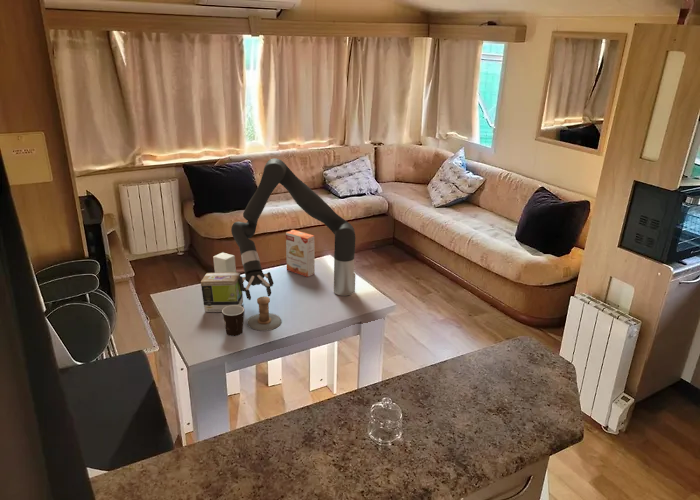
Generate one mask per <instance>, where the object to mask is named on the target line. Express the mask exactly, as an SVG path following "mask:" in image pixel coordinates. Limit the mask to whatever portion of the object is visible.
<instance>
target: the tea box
mask: <svg viewBox="0 0 700 500" xmlns="http://www.w3.org/2000/svg"><path fill="white" fill-rule="evenodd" d="M240 276H241V272H238V271H236V272H230V273H215V272H207V273H206V274H205V275H204V276H203V278H202V279H201V281H200V287H201V295H202V302H203V307H204V312H205V313H215V312H216V313H222V310H223V308H225V307H227V306H231V305H239V306H242V307H243V304H244V296H243V291H241V290H240V285H239V277H240Z"/></svg>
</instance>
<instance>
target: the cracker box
mask: <svg viewBox="0 0 700 500" xmlns="http://www.w3.org/2000/svg"><path fill="white" fill-rule="evenodd" d="M315 236H316V235H313V234H311V233H307V232H304V231H301V230H300V231H299V230H296V229H291V230H289V231H286V232H285V245H286V246H285V251H286V253H285V254H286V271H289V272H292V273H295V274H298V275H300V276H303V277H306V278H309V277H311V276H312V275H314V274H315V273H316V272H315V263H316V262H315V258H316V257H315V256H316V255H315V251H316V250H315V239H316V238H315Z"/></svg>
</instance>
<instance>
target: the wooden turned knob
mask: <svg viewBox="0 0 700 500" xmlns="http://www.w3.org/2000/svg"><path fill="white" fill-rule="evenodd" d="M256 302H257V304H258V314H259V318H258V323H259V324H269V323H270V322H271V318H270V317H269V313H270V306H269V305H270V302H271V298H270V296H260V297H257V299H256Z"/></svg>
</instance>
